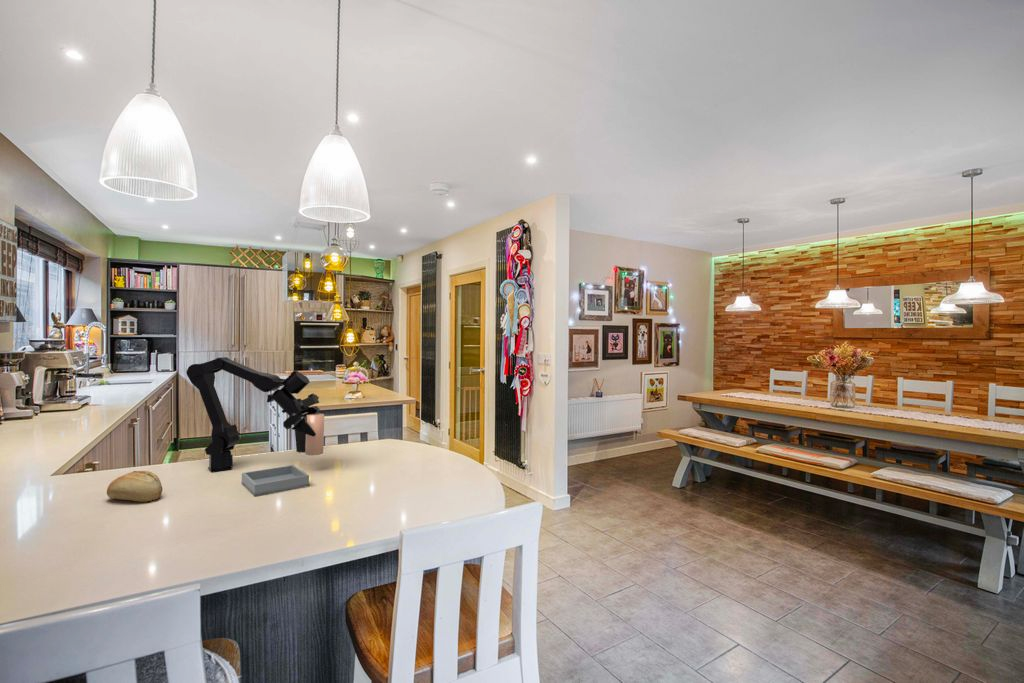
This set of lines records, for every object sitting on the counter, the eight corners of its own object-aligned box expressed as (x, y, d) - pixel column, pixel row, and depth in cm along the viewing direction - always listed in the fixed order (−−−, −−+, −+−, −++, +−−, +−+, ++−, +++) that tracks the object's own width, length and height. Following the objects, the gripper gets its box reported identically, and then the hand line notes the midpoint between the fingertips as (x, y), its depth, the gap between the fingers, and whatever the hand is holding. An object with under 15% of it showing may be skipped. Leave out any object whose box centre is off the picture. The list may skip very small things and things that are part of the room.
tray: (254, 496, 143) (254, 485, 143) (241, 483, 155) (241, 473, 155) (308, 486, 154) (309, 475, 154) (293, 474, 166) (293, 464, 166)
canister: (308, 456, 167) (309, 416, 167) (302, 452, 171) (304, 414, 171) (325, 453, 171) (326, 415, 171) (319, 450, 175) (321, 412, 175)
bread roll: (125, 493, 144) (125, 467, 144) (172, 494, 144) (172, 468, 143) (96, 504, 135) (96, 476, 135) (146, 506, 134) (146, 478, 134)
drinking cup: (288, 452, 197) (289, 404, 197) (301, 448, 204) (302, 401, 204) (303, 453, 195) (304, 405, 195) (316, 449, 202) (317, 402, 202)
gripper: (293, 390, 161) (324, 423, 162) (315, 384, 180) (343, 414, 180) (269, 412, 161) (301, 445, 162) (293, 404, 180) (322, 434, 180)
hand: (318, 433), depth 171 cm, fingers closed on canister, 6 cm apart
